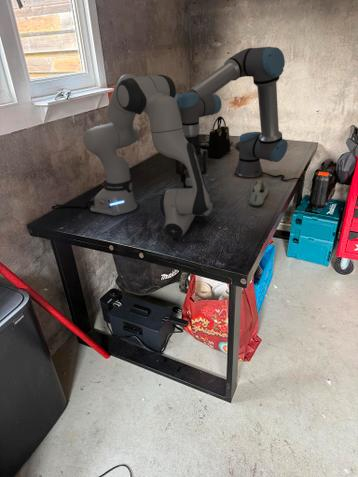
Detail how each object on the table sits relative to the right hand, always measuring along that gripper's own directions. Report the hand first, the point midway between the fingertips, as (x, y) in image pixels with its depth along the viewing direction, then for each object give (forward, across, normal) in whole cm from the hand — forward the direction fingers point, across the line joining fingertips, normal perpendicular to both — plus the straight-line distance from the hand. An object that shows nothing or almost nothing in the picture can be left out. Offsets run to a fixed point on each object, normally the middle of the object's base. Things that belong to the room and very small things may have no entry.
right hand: (191, 189), depth 143 cm
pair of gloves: (+12, +4, -120) cm, 120 cm away
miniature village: (+12, -32, -113) cm, 118 cm away
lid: (-4, 0, 0) cm, 4 cm away
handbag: (+12, -6, -92) cm, 93 cm away
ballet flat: (+12, -30, -19) cm, 37 cm away
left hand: (+5, 0, -1) cm, 5 cm away
